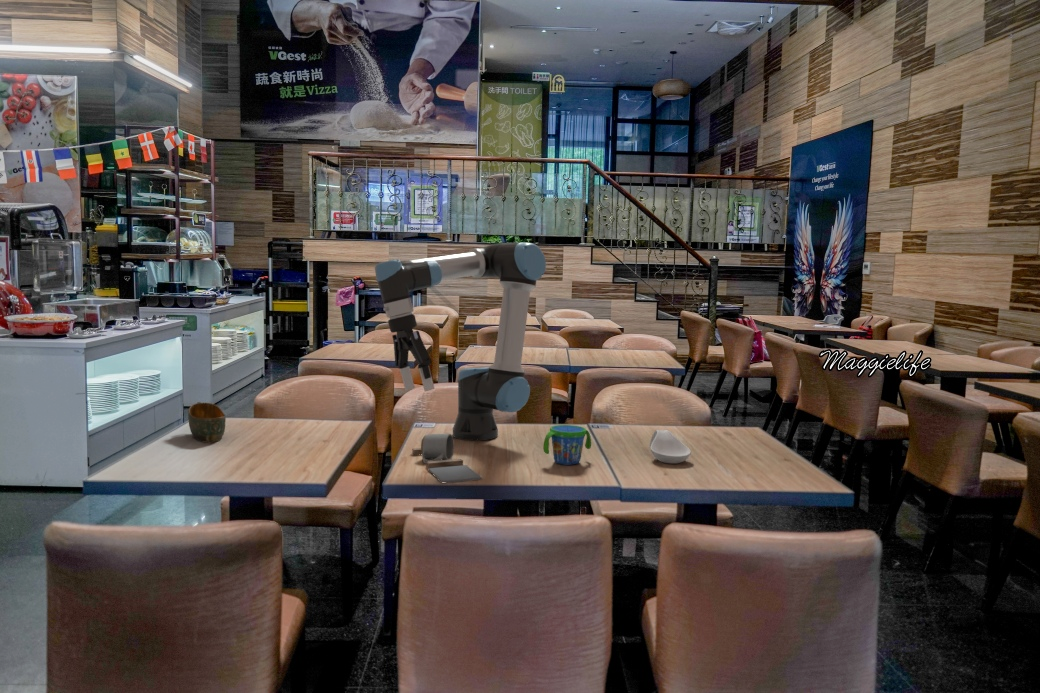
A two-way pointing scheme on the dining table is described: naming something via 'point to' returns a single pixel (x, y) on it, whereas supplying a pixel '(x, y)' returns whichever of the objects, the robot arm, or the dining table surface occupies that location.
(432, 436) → the ceramic mug
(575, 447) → the snack cup
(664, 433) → the spoon rest
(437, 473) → the slate mat
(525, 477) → the dining table surface
